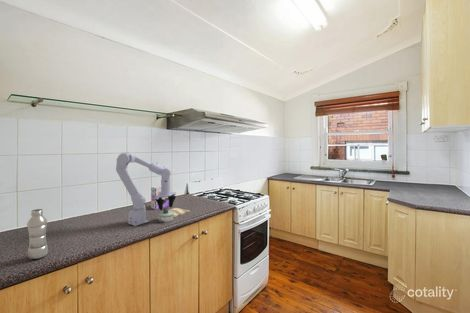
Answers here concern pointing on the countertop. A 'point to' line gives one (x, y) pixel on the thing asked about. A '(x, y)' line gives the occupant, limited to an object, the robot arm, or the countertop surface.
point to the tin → (165, 219)
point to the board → (178, 211)
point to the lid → (165, 213)
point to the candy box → (154, 204)
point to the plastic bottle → (37, 235)
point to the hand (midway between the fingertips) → (165, 208)
